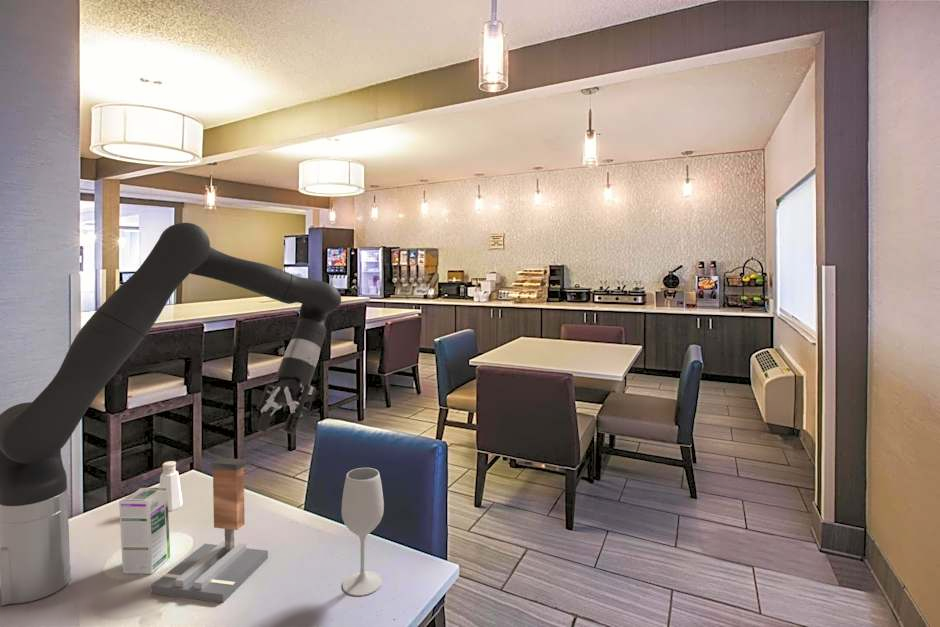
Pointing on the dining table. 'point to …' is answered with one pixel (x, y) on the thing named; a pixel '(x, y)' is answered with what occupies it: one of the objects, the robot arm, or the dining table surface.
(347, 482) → the wineglass
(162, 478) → the salt shaker
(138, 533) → the syrup box
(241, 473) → the lever
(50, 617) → the dining table surface
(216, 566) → the grey slotted base
